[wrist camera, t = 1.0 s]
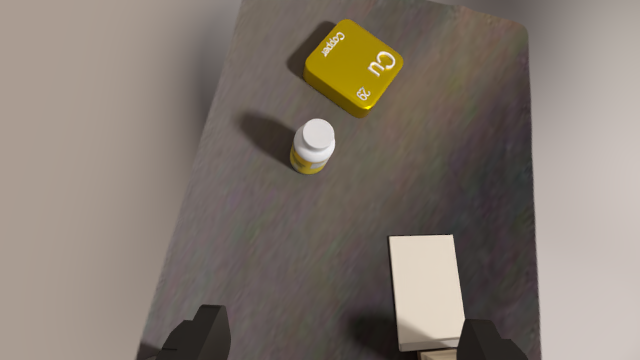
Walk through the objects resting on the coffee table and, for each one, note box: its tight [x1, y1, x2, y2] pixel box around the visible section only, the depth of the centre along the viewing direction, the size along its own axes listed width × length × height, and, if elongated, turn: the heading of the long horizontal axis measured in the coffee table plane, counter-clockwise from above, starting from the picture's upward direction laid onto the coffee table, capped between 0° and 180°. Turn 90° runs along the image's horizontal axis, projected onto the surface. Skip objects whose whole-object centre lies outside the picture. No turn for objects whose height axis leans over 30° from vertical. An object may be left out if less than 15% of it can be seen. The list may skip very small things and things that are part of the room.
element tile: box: [303, 19, 403, 118], centre depth 63 cm, size 15×15×5 cm
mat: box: [389, 235, 465, 351], centre depth 55 cm, size 18×12×1 cm, turn 2°
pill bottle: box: [290, 119, 335, 175], centre depth 53 cm, size 6×6×12 cm
